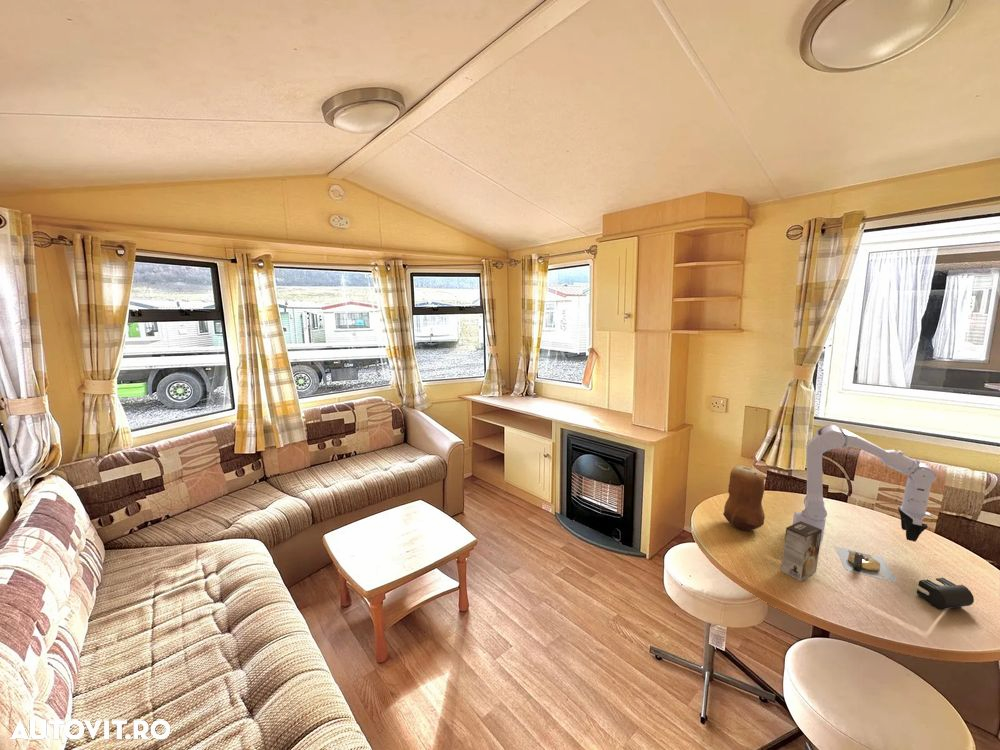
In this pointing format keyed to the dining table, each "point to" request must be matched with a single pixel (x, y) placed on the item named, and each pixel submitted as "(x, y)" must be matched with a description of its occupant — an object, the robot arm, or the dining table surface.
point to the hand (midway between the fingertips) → (908, 535)
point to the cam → (863, 562)
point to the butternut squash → (745, 498)
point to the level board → (881, 574)
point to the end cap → (945, 594)
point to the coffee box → (801, 550)
